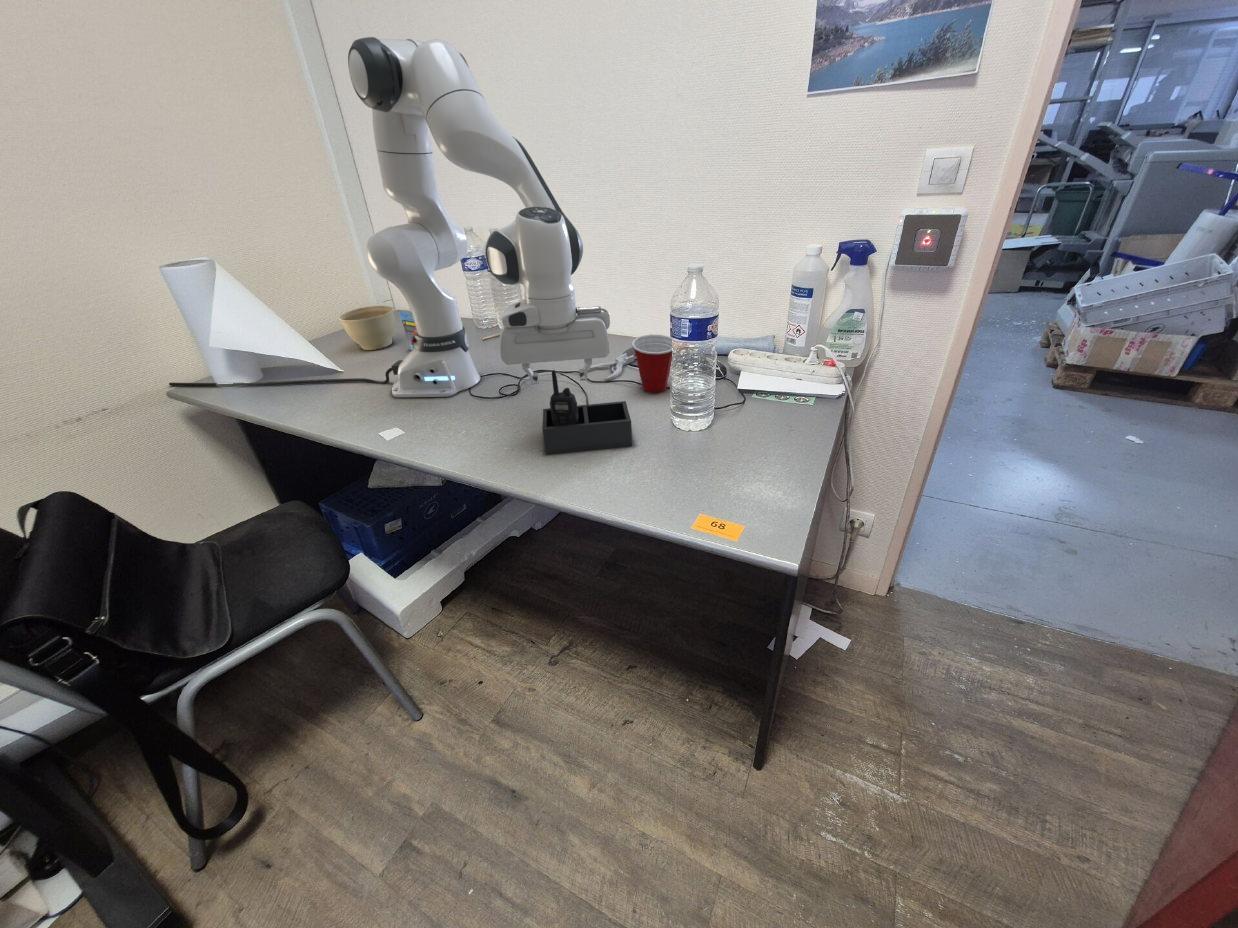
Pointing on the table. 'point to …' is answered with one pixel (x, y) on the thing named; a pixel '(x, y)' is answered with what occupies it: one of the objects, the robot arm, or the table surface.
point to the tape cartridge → (408, 326)
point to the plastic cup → (653, 361)
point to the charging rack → (589, 429)
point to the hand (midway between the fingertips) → (559, 381)
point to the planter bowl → (370, 326)
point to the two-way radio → (563, 405)
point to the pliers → (619, 362)
